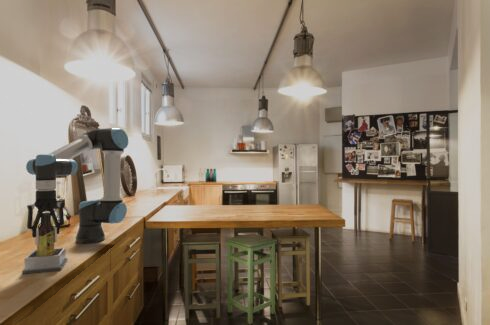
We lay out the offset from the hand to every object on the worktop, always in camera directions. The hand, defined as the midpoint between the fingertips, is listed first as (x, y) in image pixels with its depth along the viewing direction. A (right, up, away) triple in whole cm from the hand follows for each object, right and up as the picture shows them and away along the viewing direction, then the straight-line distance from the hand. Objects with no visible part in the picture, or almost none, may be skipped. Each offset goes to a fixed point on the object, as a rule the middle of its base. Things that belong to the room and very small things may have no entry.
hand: (46, 243), depth 138 cm
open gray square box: (0, -10, 0) cm, 10 cm away
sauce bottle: (0, -7, 0) cm, 7 cm away
